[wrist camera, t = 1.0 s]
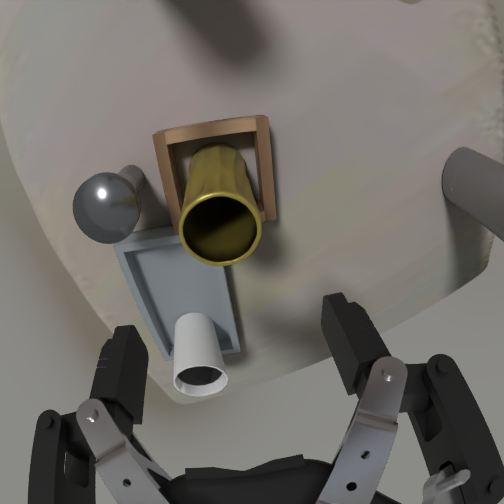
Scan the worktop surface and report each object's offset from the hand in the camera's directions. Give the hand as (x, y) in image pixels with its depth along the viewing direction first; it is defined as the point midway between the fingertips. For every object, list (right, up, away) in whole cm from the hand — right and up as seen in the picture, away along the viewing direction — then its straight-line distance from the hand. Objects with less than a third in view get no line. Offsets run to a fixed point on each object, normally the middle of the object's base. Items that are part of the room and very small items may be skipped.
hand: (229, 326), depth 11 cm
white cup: (-7, -8, +29) cm, 31 cm away
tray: (-8, -3, +26) cm, 28 cm away
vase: (-3, +12, +18) cm, 22 cm away
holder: (-3, +12, +18) cm, 22 cm away
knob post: (-12, +11, +17) cm, 24 cm away
